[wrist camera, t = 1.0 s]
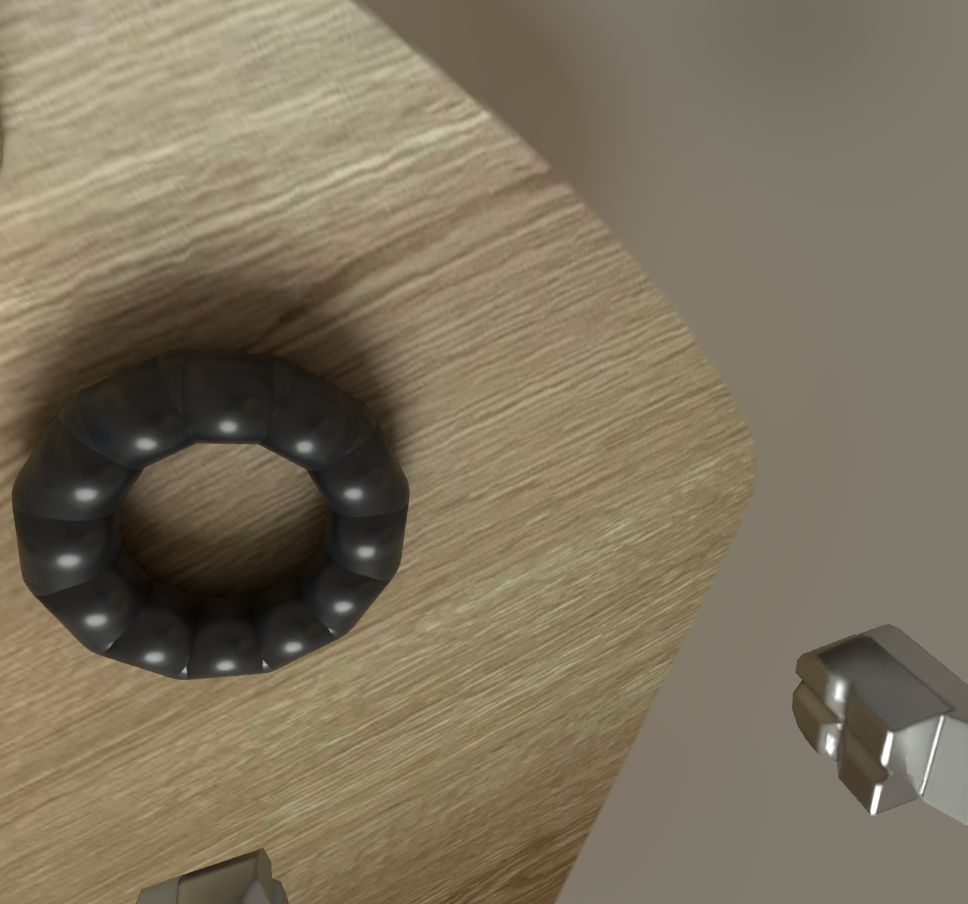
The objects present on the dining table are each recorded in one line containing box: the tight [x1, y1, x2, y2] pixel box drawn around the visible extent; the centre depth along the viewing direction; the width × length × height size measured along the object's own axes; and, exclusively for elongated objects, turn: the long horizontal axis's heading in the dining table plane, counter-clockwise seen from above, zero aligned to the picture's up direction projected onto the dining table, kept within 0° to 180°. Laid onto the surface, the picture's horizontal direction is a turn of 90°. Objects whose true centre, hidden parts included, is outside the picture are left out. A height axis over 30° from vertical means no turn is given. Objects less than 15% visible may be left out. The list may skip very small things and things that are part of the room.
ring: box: [12, 350, 409, 680], centre depth 22 cm, size 11×11×3 cm
